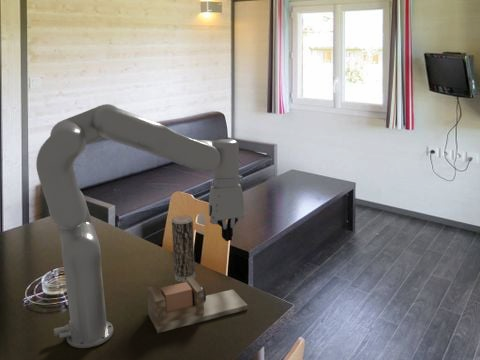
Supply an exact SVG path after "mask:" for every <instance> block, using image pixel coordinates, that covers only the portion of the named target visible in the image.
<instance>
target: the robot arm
mask: <svg viewBox="0 0 480 360" xmlns="http://www.w3.org/2000/svg"><path fill="white" fill-rule="evenodd" d="M101 139H107V140H108V141H112V142H115V143H118V144H120V145H124V146H127V147H130V148H134V149H136V150H139V151H142V152H145V153H147V154H150V155H153V156H155V157H158V158H161V159H164V160H167V161H170V162H172V163H175V164H178V165H181V166H182V167H183V166H184V167H187V168H190V169H192V170H195V171H198V172H202V173H211V172H213V173H212V174H213V185H211V186H210V189H209V194H208V195H209V196H208V216H209V217H210V219H209V223H210V225H218V226H220V227H221V238H222V239H223V240H224V241H225V242H230V241H233V240H232V239H233V235H234V232H233V230H234V227H235V225H236V223H238V221H241V220H244V216H245V215H244V214H245V203H244V202H245V201H244V194H243V189H242V185H241V184H240V181H243V180H244V176H243V175H240V172H239V171H240V168H239V167H240V165H239V164H240V163H239V162H240V159H239V158H240V157H239V154H240V152H239V142H238V141H237V140H235V139H232V138H231V139H230V138H222V139H217V140H205V139H204V140H203V139H193V138H190V137H188V136H185V135H183V134H181V133H178V132H177V131H175V130H173V129H172V128H169V127H168V126H167V125H164V124H162V123H159V122H158V121H157V122H156V121H153V120H151V119H148V118H145V117H143V116H140V115H137V114H134V113H132V112H129V111H126V110H124V109H121V108H119V107H117V106H116V105H113V104H108V103H107V104H101V105H98V106H96V107H94V108H91V109H88V110H86V111H83V112H80V113H79V114H75V115H73V116H70V117H68V118H64V119H63V120H60V121H58V122H57V123H56V124H55V125H54V126H53V127H52V129H51V130H50V136H49V137H48V138H47V139H46V140H45V141H44V143H43V144H42V145H41V146H40V148H39V151H38V154H37V156H36V172H37V177H38V180H39V182H40V185H41V188H42V192H43V195H44V198H45V201H46V205H47V207H48V213H49V216H50V218H51V220H52V222H53V223H54V224H55V226H56V228H57V229H56V230H57V231H58V235H59V238H60V246H61V258H62V259H61V260H62V264H63V271H64V280H65V287H66V297H67V301H68V312H69V318H70V319H69V320H68V324H65V325H64V326H61V327H56V328H53V334H54V336H58V335H59V339H63V338H66V342H67V343H68V345H70V346H71V347H74V348H78V349H88V348H92V347H97V346H100V345H102V344H103V343H105V342H107V341H108V340H109V339H110V338H111V337H112V336H113V334H114V326H113V324H112V323H111V322H109V321H108V320H107V312H106V311H107V310H106V309H107V308H106V302H105V301H106V300H105V291H104V280H103V270H102V250H101V245H100V241H99V238H98V235H97V232H96V229H95V226H94V223H93V220H92V216H91V214H90V211H89V208H88V205H87V200H86V198H85V196H84V193H83V192H82V191H81V188H80V186H79V184H78V179H77V176H76V174H75V173H76V172H75V170H74V164H75V161H76V159H77V158H78V157H80V156H81V155H82V154H83V152H84V151H85V150H86V146H87V145H90V144H91V143H94V142H97V141H99V140H101Z"/></svg>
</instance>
